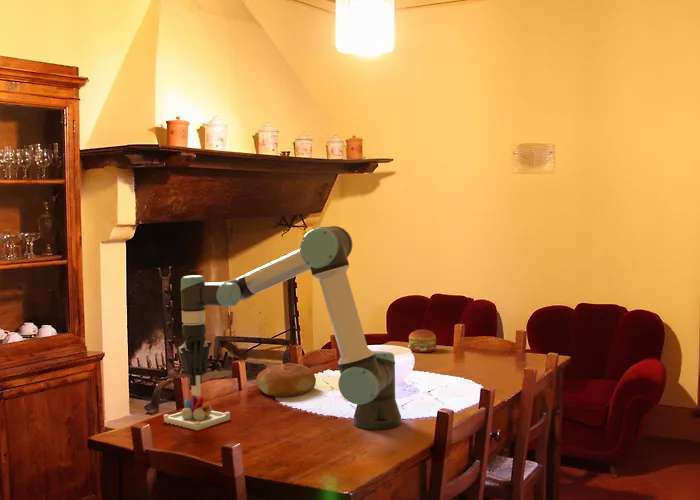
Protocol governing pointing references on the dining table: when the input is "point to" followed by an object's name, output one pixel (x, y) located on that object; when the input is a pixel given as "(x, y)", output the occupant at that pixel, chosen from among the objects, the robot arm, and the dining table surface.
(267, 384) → the bread
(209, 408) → the colourful fan
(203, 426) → the white square tray
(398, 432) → the dining table surface
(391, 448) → the dining table surface
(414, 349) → the burger
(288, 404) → the dining table surface
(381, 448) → the dining table surface
